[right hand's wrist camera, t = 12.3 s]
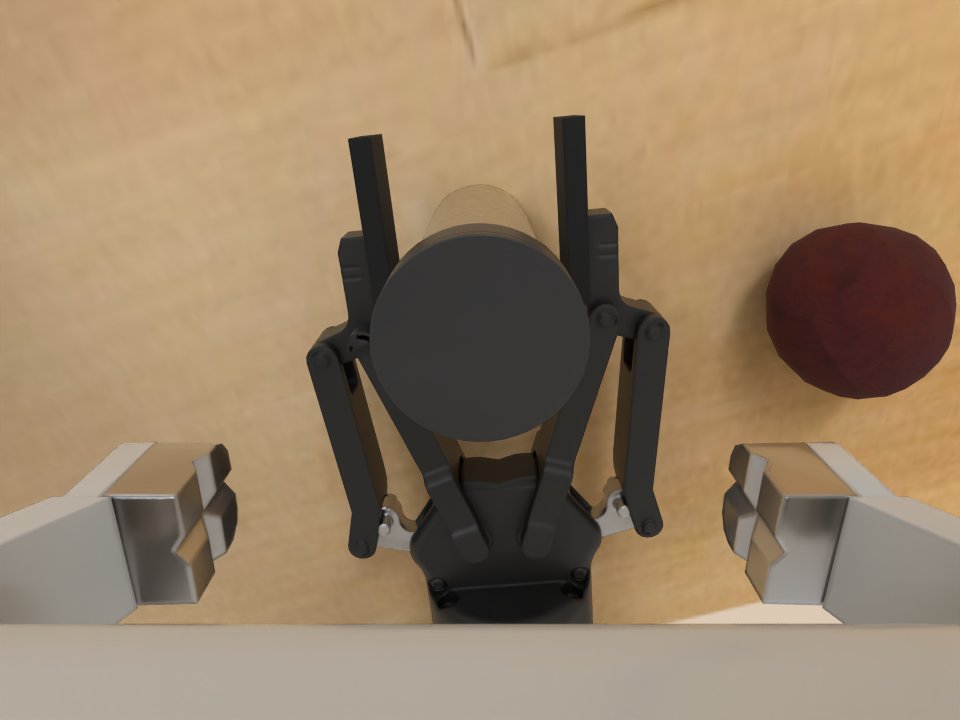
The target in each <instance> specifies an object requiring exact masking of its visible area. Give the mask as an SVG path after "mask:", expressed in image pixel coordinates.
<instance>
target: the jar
mask: <svg viewBox="0 0 960 720" xmlns="http://www.w3.org/2000/svg"><path fill="white" fill-rule="evenodd" d="M472 223H487V224H497V225H502V226H506V227H510V228H513V229H516V230H518V231H521V232H524V233H525V234H527V235H529V236H531V237H533V238H535V239H536V237H535V234H534V232H533V230H532V228H531V225H530V223H529V221H528V219H527V216H526V214H525V212H524V210H523V209H522V207H521V206H520V204H519V203H518V202H517V201H516V200H515V199H514V198H513V197H512V196H511V195H509V194H508V193H507V192H505V191H503V190H501V189H499V188H496V187H493V186H488V185H472V186H467V187H464V188H461V189H459V190H457V191H455V192H453V193H452V194H450V195H449V196H448V197H447V198H445V199H444V200H443V202H442V203H441V204H440V205H439V207H438V208H437V210H436V212H435V214H434V216H433V218H432V220H431V222H430V225H429V227H428V229H427V231H426V234H425V236H424V238H423V240H424V239H425V238H427V237H428V236H430V235H432V234H435V233H437V232H439V231H441V230H444V229H447V228H450V227H453V226H458V225H464V224H472ZM536 240H537V239H536Z"/></svg>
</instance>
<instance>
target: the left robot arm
mask: <svg viewBox="0 0 960 720" xmlns="http://www.w3.org/2000/svg"><path fill="white" fill-rule="evenodd" d="M553 120H554V141H555V162H556V183H557V204H558V225H559V245H560V262H561V263H562V264H563V265H564V267H565V268H566V270H567V272H568V273H569V275H570V277H571V278H572V280H573V282H574V284H575V286H576V288H577V289H578V291H579V293H580V295H581V298H582V300H583V302H584V305H585V308H586V312H587V316H588V319H589V328H590V348H589V355H588V360H587V364H586V367H585V370H584V373H583V375H582V378H581V380H580V382H579V384H578V386H577V388H576V389H575V391H574V392H573V394H572V395H571V397H570V398H569V399H568V401H567V402H566V403H565V404H564V405H563V407H562V408H560V409H559V410H558V411H557V412H556V413H555V414H554V415H553V416H552V417H550V418H549V419H548V420H546V421H545V422H544V423H542V426H541V429H540V430H539V431H538V432H537V434H536V437H535V440H534V443H533V447H532V450H531V453H521V454H514V455H511V456H508V457H505V458H502V459H491V458H484V457H472V458H466V457H465V455H464V453H463V451H462V449H461V447H460V446H459V444H458V442H457V440H456V439H453V438H449V437H446V436H443V435H440V434H437V433H435V432H433V431H431V430H428V429H426V428H424V427H423V426H421V425H420V424H418V423H416V422H415V421H413V420H412V419H411V418H410V417H408V416H407V415H406V414H405V413H403V412H402V411H401V410H400V408H399V407H398V406H397V405H396V404H395V403H394V402H393V401H392V399H391V398H390V397H389V395H388V394H387V393H386V391H385V389H384V388H383V386H382V384H381V382H380V381H379V378H378V376H377V373H376V371H375V368H374V364H373V360H372V356H371V348H370V326H371V320H372V314H373V311H374V308H375V305H376V302H377V299H378V297H379V295H380V293H381V291H382V289H383V287H384V285H385V284H386V282H387V280H388V278H389V276H390V274H391V273H392V271H393V270H394V268H395V267H396V265H397V264H398V262H399V254H398V247H397V240H396V232H395V225H394V218H393V211H392V204H391V196H390V189H389V182H388V175H387V168H386V161H385V153H384V146H383V139H382V134H378V135H368V136H360V137H355V138H350V139H348V142H349V148H350V155H351V161H352V167H353V174H354V180H355V186H356V193H357V199H358V205H359V212H360V218H361V224H362V231H352V232H348V233H347V234H345V235H344V236H343V237H342V238H341V241H340V245H339V250H338V257H339V262H340V267H341V274H342V278H343V285H344V291H345V297H346V303H347V308H348V317H349V319H348V321H346V322H344V323H342V324H340V325H338V326H331V327H329V328H326V329H325V330H324V331H323V332H322V334H321V335H320V337H319V338H318V339H317V341H316V342H315V344H314V345H313V346H312V348H311V349H310V351H309V352H308V354H307V357H306V359H307V366H308V369H309V372H310V375H311V379H312V382H313V385H314V389H315V392H316V395H317V399H318V402H319V405H320V409H321V412H322V415H323V418H324V422H325V425H326V428H327V432H328V435H329V438H330V442H331V445H332V448H333V452H334V455H335V458H336V461H337V465H338V468H339V471H340V475H341V478H342V481H343V485H344V488H345V491H346V495H347V498H348V501H349V505H350V508H351V511H352V517H351V526H350V535H349V543H348V547H349V551H350V552H351V554H352V555H354V556H355V557H358V558H368V557H371V556H372V555H373V554H374V553H375V551H376V548H377V547H384V548H391V549H398V550H406V551H410V553H411V556H412V558H413V560H414V561H415V562H416V563H417V564H418V566H419V567H420V568H421V569H422V571H423V572H424V574H425V577H426V581H427V587H428V594H429V600H430V607H431V613H432V620H433V624H593V612H592V585H591V562H592V559H593V556H594V554H595V553H596V551H597V550H598V548H599V546H600V544H601V539H602V537H604V536H607V535H610V534H614V533H617V532H620V531H624V530H627V529H630V528H635V530H636V532H637V533H638V534H639V535H640V536H642V537H653V536H655V535H657V534H658V533H659V532H660V531H661V530H662V528H663V521H662V517H661V514H660V511H659V508H658V505H657V502H656V498H655V495H654V492H653V483H654V474H655V465H656V456H657V447H658V438H659V428H660V419H661V410H662V401H663V392H664V383H665V374H666V365H667V356H668V347H669V338H670V326H669V325H668V323H667V321H666V320H665V319H664V318H663V317H662V316H661V315H660V313H659V312H658V311H657V310H656V309H655V308H654V307H653V306H652V305H651V303H649V302H648V301H646V300H642V299H639V300H633V299H629V298H625V297H623V296H621V295H620V294H619V264H618V226H617V224H616V221H615V219H614V217H613V214H612V213H611V212H609V211H608V210H607V209H606V208H600V209H590V210H588V199H587V167H586V135H585V116H581V115H571V116H561V117H553ZM617 335H618V336H622V337H623V338H622V350H621V363H620V375H619V387H618V399H617V411H616V423H615V436H614V448H613V463H614V470H615V474H616V477H610V478H609V479H608V480H607V483H606V485H605V486H604V489H603V499H602V501H601V502H600V503H599V504H598V505H597V506H595V507H591V506H590V505H589V503H588V502H587V501H586V500H585V499H584V498H583V497H582V496H581V495H580V494H579V493H578V492H577V491H576V490H575V489H574V488H573V487H572V486H571V482H572V478H573V470H574V462H575V459H576V456H577V453H578V450H579V447H580V444H581V441H582V438H583V435H584V432H585V429H586V426H587V423H588V420H589V417H590V414H591V411H592V408H593V405H594V402H595V399H596V396H597V393H598V390H599V387H600V384H601V381H602V379H603V376H604V373H605V370H606V367H607V364H608V361H609V358H610V355H611V352H612V349H613V346H614V343H615V340H616V337H617ZM356 358H358V359H359V361H360V363H361V365H362V366H363V368H364V370H365V372H366V374H367V375H368V377H369V379H370V381H371V383H372V384H373V386H374V388H375V390H376V392H377V393H378V395H379V397H380V399H381V401H382V402H383V404H384V406H385V408H386V410H387V411H388V413H389V415H390V417H391V419H392V420H393V422H394V424H395V426H396V428H397V430H398V431H399V433H400V435H401V437H402V439H403V440H404V442H405V444H406V446H407V448H408V449H409V451H410V453H411V455H412V457H413V458H414V460H415V462H416V464H417V466H418V467H419V469H420V471H421V473H422V475H423V478H424V483H425V487H426V490H427V492H428V494H429V496H430V497H431V498H430V499H429V501H428V502H427V504H426V505H425V507H424V508H423V510H422V512H421V513H420V515H419V516H418V518H417V519H416V521H413V520H410V519H408V518H407V517H406V516H405V515H404V514H403V512H402V506H401V504H400V502H399V501H398V500H397V498H396V496H395V495H393V494H387V476H386V471H385V467H384V463H383V459H382V456H381V452H380V448H379V445H378V441H377V437H376V434H375V430H374V426H373V423H372V419H371V415H370V412H369V408H368V404H367V401H366V397H365V393H364V390H363V386H362V382H361V379H360V375H359V371H358V368H357V364H356V360H355V359H356Z"/></svg>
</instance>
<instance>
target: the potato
mask: <svg viewBox="0 0 960 720" xmlns="http://www.w3.org/2000/svg"><path fill="white" fill-rule="evenodd" d="M955 312H956V296H955V286H954V283H953V281H952V279H951V276H950V274H949V272H948V270H947V267H946V265H945V264H944V262H943V261H942V259H941V258H940V256H939V255H938V253H937V252H936V250H935V249H934V248H932V247H931V246H930V245H928V244H927V243H926V242H924V241H923V240H922V239H920V238H919V237H918V236H916V235H913V234H911V233H908V232H905V231H902V230H899V229H897V228H893V227H886V226H880V225H873V224H867V223H860V222H859V223H848V224H843V225H838V226H833V227H828V228H823V229H818V230H815V231H813V232H812V233H810V234H808V235H806V236H805V237H803V238H801V239H800V240H798V241H796V242H795V243H793V244H791V246H790V247H789V248H788V250H787V251H786V252H785V253H784V255H783V256H782V257H781V258H780V260H779V261H778V262H777V263H776V265H775V267H774V270H773V273H772V276H771V279H770V282H769V285H768V288H767V291H766V319H767V331H768V333H769V335H770V337H771V340H772V342H773V344H774V346H775V348H776V350H777V353H778V355H779V356H780V357H781V358H782V359H783V360H784V361H785V362H786V363H787V364H788V365H789V366H790V367H791V368H792V369H793V370H794V371H795V372H796V373H797V374H798V375H799V376H800V377H801V378H802V379H803V380H804V381H805V382H807V383H809V384H811V385H813V386H815V387H817V388H819V389H821V390H824V391H826V392H829V393H832V394H835V395H837V396H841V397H847V398H853V399H865V398H874V397H885V396H889V395H891V394H894V393H896V392H899V391H901V390H904V389H906V388H908V387H909V386H911V385H912V384H914V383H915V382H917V381H918V380H920V379H921V378H923V377H924V376H925V375H926V374H927V373H928V372H929V371H930V370H931V369H932V368H933V367H934V366H935V365H936V364H937V363H938V362H939V361H940V360H941V358H942V357H943V355H944V354H945V352H946V351H947V349H948V348H949V345H950V342H951V339H952V333H953V328H954V322H955Z"/></svg>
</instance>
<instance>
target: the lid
mask: <svg viewBox="0 0 960 720" xmlns="http://www.w3.org/2000/svg"><path fill="white" fill-rule="evenodd" d="M370 348H371V356H372V360H373V364H374V368H375V371H376V373H377V376H378V378H379V381H380V382H381V384H382V386H383V388H384V389H385V391H386V393H387V394H388V395H389V397H390V398H391V399H392V401H393V402H394V403H395V404H396V405H397V406H398V407H399V408H400V410H401V411H402V412H403V413H405V414H406V415H407V416H408V417H410V418H411V419H412V420H413V421H415V422H416V423H418V424H420V425H421V426H423V427H424V428H426V429H428V430H431V431H433V432H435V433H437V434H440V435H443V436H446V437H449V438H453V439H458V440H463V441H474V442H484V441H496V440H502V439H507V438H510V437H514V436H518V435H520V434H522V433H525V432H527V431H530V430H532V429H533V428H535V427H537V426H539V425H541V424H542V423H544V422H545V421H546V420H548V419H549V418H550V417H552V416H553V415H554V414H555V413H556V412H557V411H558V410H559V409H560V408H562V407H563V405H564V404H565V403H566V402H567V401H568V399H569V398H570V397H571V395H572V394H573V392H574V391H575V389H576V388H577V386H578V384H579V382H580V380H581V378H582V375H583V373H584V370H585V367H586V364H587V360H588V355H589V348H590V328H589V319H588V316H587V312H586V308H585V305H584V302H583V300H582V298H581V295H580V293H579V291H578V289H577V288H576V286H575V284H574V282H573V280H572V278H571V277H570V275H569V273H568V272H567V270H566V268H565V267H564V265H563V264H562V263H561V262H560V260H559V259H558V258H557V256H556V255H555V254H553V253H552V252H551V251H550V250H549V249H548V248H547V247H546V246H545V245H543V244H542V243H540V242H539V241H538V240H536V239H535V238H533V237H531V236H529V235H527V234H525V233H524V232H521V231H518V230H516V229H513V228H510V227H506V226H502V225H497V224H487V223H472V224H464V225H458V226H453V227H450V228H447V229H444V230H441V231H439V232H437V233H435V234H432V235H430V236H428V237H427V238H425V239H424V240H422V241H421V242H419V243H418V244H416V245H415V246H414V247H413V248H412V249H411V250H409V251H408V252H407V253H406V254H405V256H404V257H403V258H402V259H401V260H400V261H399V262H398V264H397V265H396V267H395V268H394V270H393V271H392V273H391V274H390V276H389V278H388V280H387V282H386V284H385V285H384V287H383V289H382V291H381V293H380V295H379V297H378V299H377V302H376V305H375V308H374V311H373V314H372V320H371V326H370Z"/></svg>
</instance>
